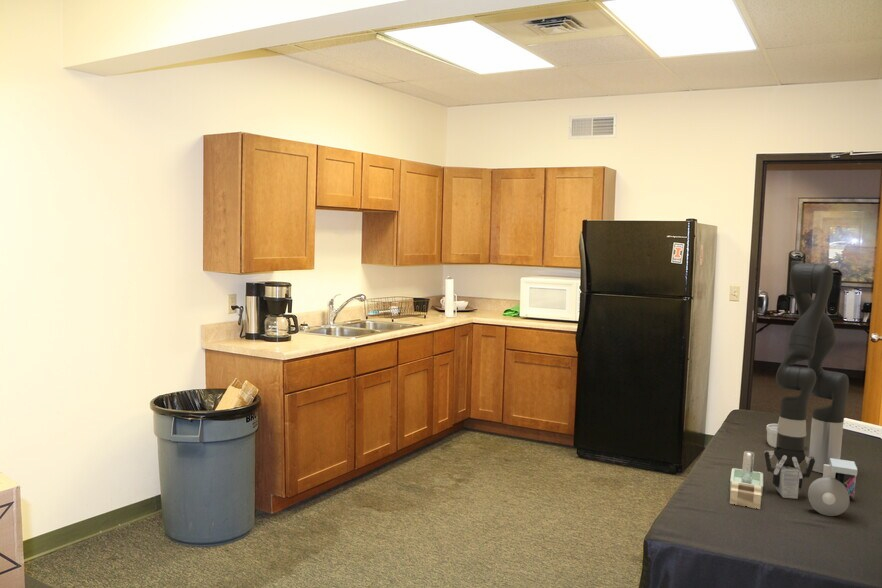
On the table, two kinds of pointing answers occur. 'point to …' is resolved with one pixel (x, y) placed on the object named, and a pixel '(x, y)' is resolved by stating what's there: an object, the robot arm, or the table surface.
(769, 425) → the ramekin
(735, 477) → the tray
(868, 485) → the table surface
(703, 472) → the table surface
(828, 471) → the trolley wheel
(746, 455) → the pin
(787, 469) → the medicine box
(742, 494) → the wooden square frame
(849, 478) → the supplement container
